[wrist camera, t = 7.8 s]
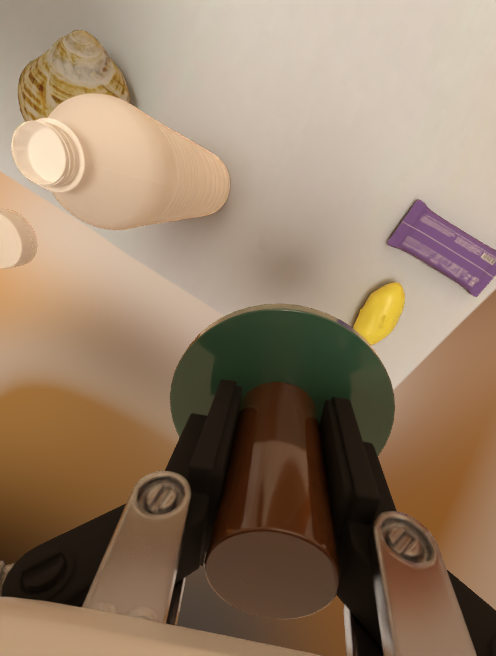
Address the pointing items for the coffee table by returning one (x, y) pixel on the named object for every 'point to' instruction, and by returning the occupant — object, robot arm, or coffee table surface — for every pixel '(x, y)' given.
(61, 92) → the seashell
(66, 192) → the water bottle
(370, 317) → the lemon
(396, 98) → the coffee table surface
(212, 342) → the lid
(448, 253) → the snack package
